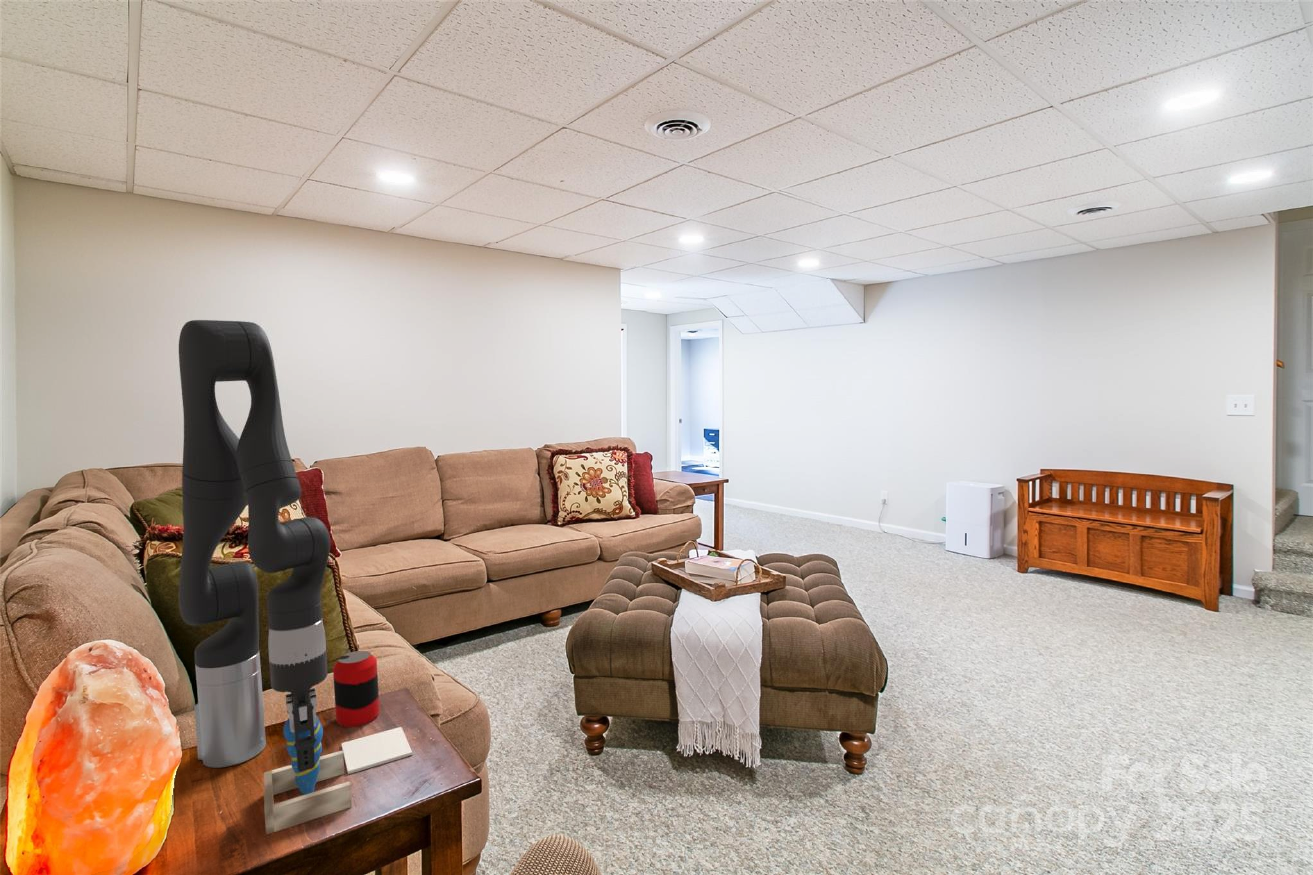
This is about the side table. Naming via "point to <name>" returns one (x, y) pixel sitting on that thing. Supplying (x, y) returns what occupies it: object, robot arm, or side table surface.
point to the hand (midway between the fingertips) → (304, 755)
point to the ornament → (304, 778)
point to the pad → (375, 750)
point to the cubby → (307, 804)
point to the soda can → (356, 689)
